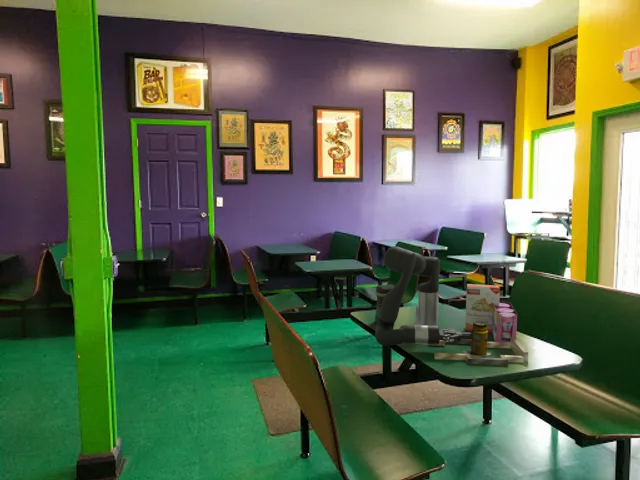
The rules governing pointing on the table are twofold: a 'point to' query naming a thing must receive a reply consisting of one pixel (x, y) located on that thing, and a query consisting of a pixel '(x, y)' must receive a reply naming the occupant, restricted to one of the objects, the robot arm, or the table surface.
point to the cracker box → (481, 304)
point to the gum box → (504, 322)
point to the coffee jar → (381, 297)
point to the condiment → (479, 340)
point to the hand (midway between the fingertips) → (471, 336)
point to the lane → (503, 360)
